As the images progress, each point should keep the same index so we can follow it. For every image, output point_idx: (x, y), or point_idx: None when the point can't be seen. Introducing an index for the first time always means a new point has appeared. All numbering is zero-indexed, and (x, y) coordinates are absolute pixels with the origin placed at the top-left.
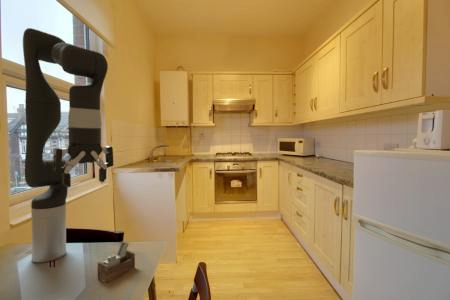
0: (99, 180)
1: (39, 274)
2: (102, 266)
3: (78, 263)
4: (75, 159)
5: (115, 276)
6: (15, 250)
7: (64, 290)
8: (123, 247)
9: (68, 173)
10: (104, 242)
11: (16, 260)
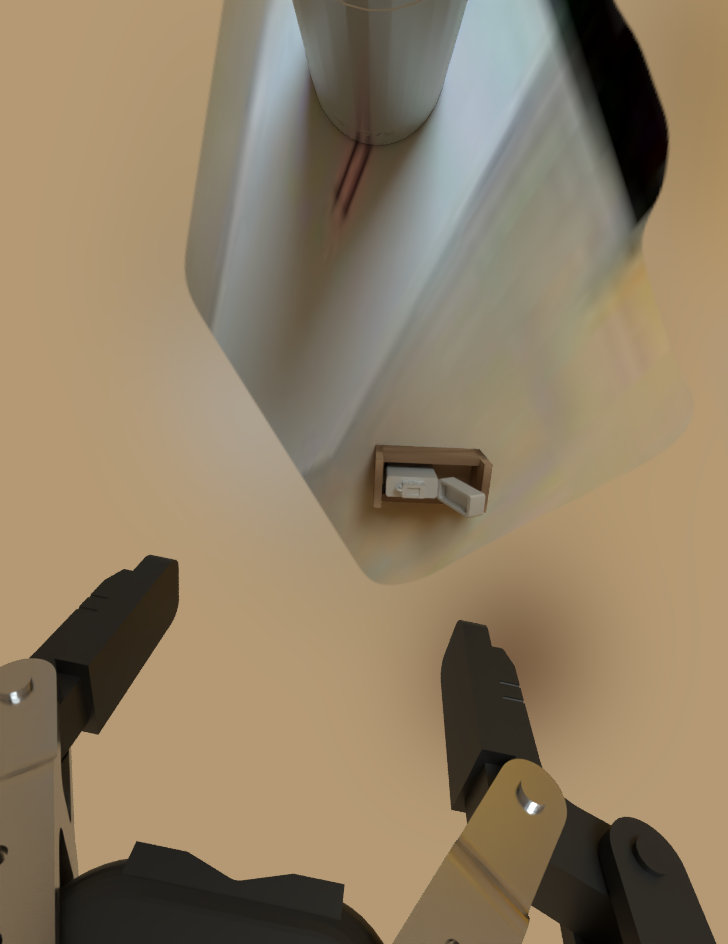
0: (457, 627)
1: (286, 233)
2: (374, 486)
3: (403, 281)
4: None
5: None
6: None
7: (291, 419)
8: (456, 509)
9: (81, 719)
10: (599, 162)
11: None
